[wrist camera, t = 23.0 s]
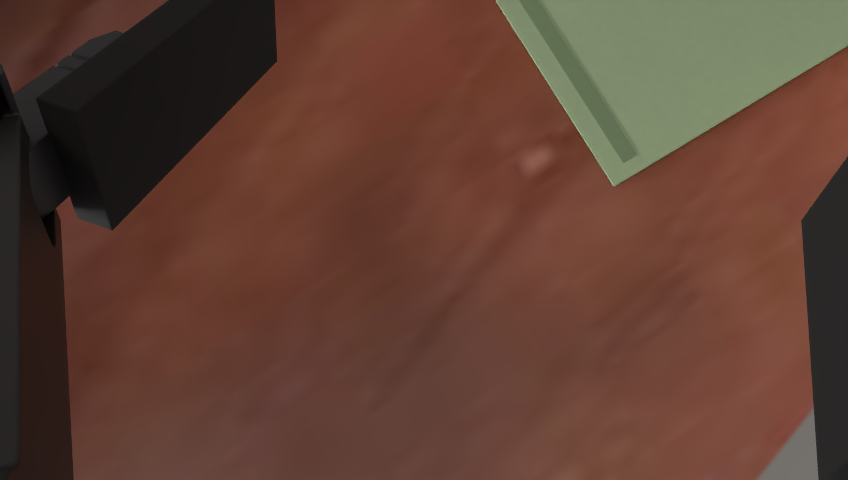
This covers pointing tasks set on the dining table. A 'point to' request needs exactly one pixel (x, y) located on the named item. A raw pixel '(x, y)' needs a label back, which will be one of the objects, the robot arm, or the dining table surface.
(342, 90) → the dining table surface
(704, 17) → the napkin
